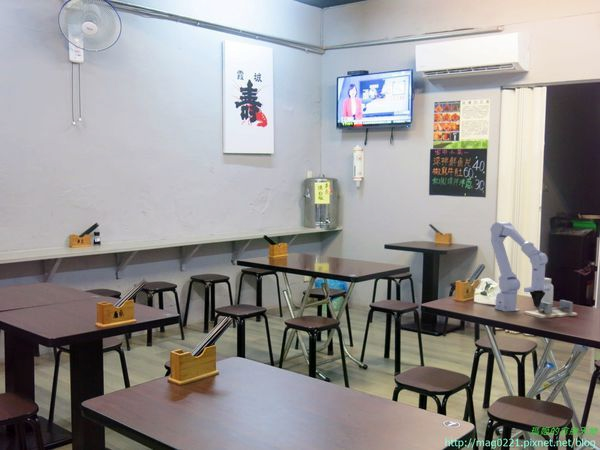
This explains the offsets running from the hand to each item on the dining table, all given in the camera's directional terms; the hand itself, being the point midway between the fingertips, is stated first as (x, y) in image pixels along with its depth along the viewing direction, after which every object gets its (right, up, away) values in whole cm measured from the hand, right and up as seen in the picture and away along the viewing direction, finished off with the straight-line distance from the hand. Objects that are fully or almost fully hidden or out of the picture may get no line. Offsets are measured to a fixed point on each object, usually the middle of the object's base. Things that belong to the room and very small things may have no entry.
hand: (536, 306), depth 296 cm
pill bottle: (+12, -4, +21) cm, 25 cm away
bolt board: (+8, -4, +4) cm, 10 cm away
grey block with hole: (+5, -3, +2) cm, 6 cm away
